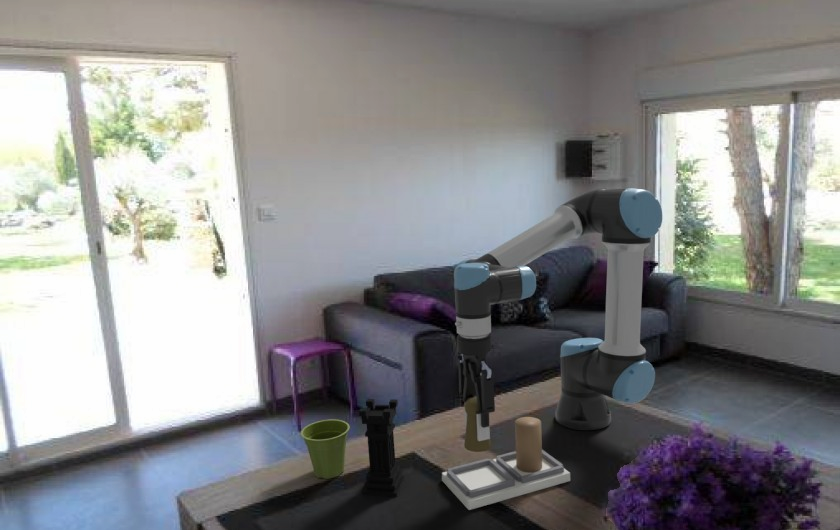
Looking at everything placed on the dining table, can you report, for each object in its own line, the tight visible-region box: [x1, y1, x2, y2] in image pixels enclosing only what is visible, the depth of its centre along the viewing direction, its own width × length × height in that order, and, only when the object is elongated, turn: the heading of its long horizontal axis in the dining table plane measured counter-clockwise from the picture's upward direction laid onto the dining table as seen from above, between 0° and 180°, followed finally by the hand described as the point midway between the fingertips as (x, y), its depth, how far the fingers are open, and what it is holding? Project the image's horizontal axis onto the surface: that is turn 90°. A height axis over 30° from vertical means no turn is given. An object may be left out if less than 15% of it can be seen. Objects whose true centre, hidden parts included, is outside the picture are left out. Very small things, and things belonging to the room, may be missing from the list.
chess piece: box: [358, 398, 406, 497], centre depth 141 cm, size 8×8×20 cm
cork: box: [464, 397, 492, 453], centre depth 137 cm, size 6×6×11 cm
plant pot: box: [300, 418, 351, 480], centre depth 150 cm, size 12×12×11 cm
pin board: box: [441, 416, 571, 511], centre depth 141 cm, size 26×14×13 cm, turn 112°
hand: (477, 434), depth 138 cm, fingers closed on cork, 5 cm apart
